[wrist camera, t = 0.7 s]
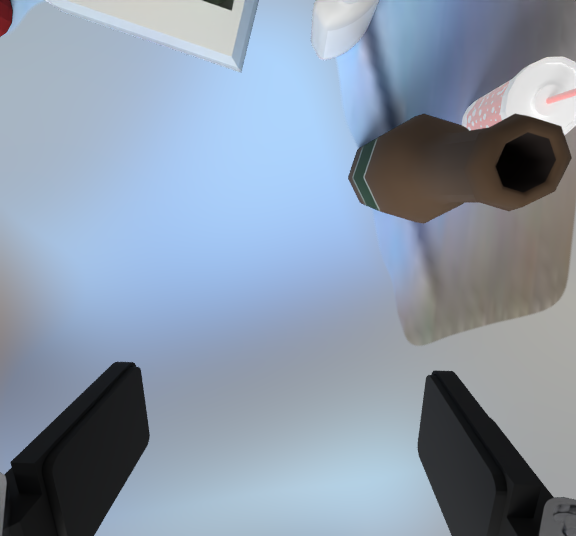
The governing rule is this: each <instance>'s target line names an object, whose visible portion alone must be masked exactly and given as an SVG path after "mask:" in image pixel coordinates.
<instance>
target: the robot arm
mask: <svg viewBox="0 0 576 536" xmlns="http://www.w3.org/2000/svg"><path fill="white" fill-rule="evenodd" d="M149 436H150V435H149V427H148V419H147V412H146V405H145V397H144V390H143V383H142V376H141V370H140V368H139V367H136V365H135V363H133V362H115V363H113V364H112V365H111V366H110V367H109V368H108V369H107V370H106V371H105V372H104V373H103V374H102V375H101V376H100V377H99V378H98V379H97V380H96V381H94V383H92V384H91V385H90V386H89V387H88V388H87V389H86V390H85V391H84V392H83V393H82V394H81V395H80V396H79V397H78V398H77V399H76V400H75V401H74V402H73V403H72V404H71V405H70V406H68V408H66V409H65V411H63V412H62V413H61V414H60V415H59V416H58V417H57V418H56V419H55V420H54V421H53V422H52V423H51V424H50V425H49V426H48V427H47V428H46V429H45V430H44V431H42V432H41V433H40V434H39V435H38V436H37V437H36V438H35V439H34V440H33V441H32V442H31V443H30V444H29V445H28V446H27V447H26V448H25V449H24V450H23V451H22V452H21V453H20V454H19V455H18V456H16V457H15V458H14V459H13V460H12V461H11V466H12V468H11V469H10V470H9V471H8V472H7V473H6V474H5V475H3V474H2V473H0V536H94V535H95V533H96V531H97V530H98V528H99V526H100V525H101V523H102V521H103V519H104V517H105V516H106V514H107V513H108V511H109V509H110V508H111V506H112V504H113V503H114V501H115V499H116V497H117V496H118V494H119V492H120V490H121V489H122V487H123V486H124V484H125V482H126V481H127V479H128V477H129V475H130V474H131V472H132V470H133V469H134V467H135V465H136V464H137V462H138V460H139V459H140V457H141V455H142V454H143V452H144V450H145V448H146V447H147V445H148V442H149ZM418 453H419V457H420V460H421V462H422V464H423V467H424V469H425V472H426V474H427V477H428V479H429V481H430V484H431V486H432V489H433V491H434V494H435V496H436V499H437V501H438V503H439V506H440V508H441V511H442V513H443V516H444V518H445V520H446V523H447V525H448V528H449V530H450V533H451V535H452V536H576V500H574V499H569V498H565V497H557V498H554V497H553V496H552V495H551V493H550V492H549V491H548V490H547V488H546V487H545V486H544V485H543V483H542V482H541V481H540V480H539V478H538V477H537V476H536V474H535V473H534V472H533V471H532V469H531V468H530V467H529V465H528V464H527V463H526V461H525V460H524V459H523V458H522V456H521V455H520V454H519V452H518V451H517V450H516V449H515V447H514V446H513V445H512V444H511V442H510V441H509V440H508V438H507V437H506V436H505V435H504V433H503V432H502V431H501V429H500V428H499V427H498V426H497V424H496V423H495V422H494V421H493V420H492V419H491V418H489V416H488V415H487V414H486V413H485V411H484V410H483V409H482V407H480V405H479V404H478V402H477V401H476V400H475V398H474V397H473V396H472V394H471V393H470V392H469V391H468V389H467V388H466V387H465V385H464V384H463V383H462V382H461V380H460V379H459V378H458V376H457V375H456V374H455V373H454V372H453V371H433V372H432V375H428V376H427V377H426V383H425V391H424V398H423V406H422V414H421V422H420V431H419V438H418Z"/></svg>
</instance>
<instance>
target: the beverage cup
mask: <svg viewBox="0 0 576 536" xmlns="http://www.w3.org/2000/svg"><path fill="white" fill-rule="evenodd" d="M513 114H520V115H526V116H530V117H533V118H537V119H540V120H543V121H546V122H549V123H553V124H556V125H559V126H561V127H562V130H563V133H564V135H565V134H566V133H568V132H569V131H570V130H571V129H572V128H573V127H574V126H576V62H574V61H572V60H570V59H568V58H565V57H546V58H544V59H541V60H539V61H537V62H535V63H532V64H530V65H528V66H527V67H525V68H523V69H522V70H521V71H520V72H519V73H518V74H517V75H516V76H515V77H514V78H513V79H511V80H509V81H508V82H506V83H504V84H503V85H501V86H499V87H498V88H496V89H494V90H493V91H491V92H489V93H488V94H486V95H484V96H483V97H481V98H479V99H478V100H476V101H474V102H473V103H472V104H471V105H470V106H469V107H468V108H467V110H466V112H465V114H464V116H463V120H462V126H464V127H466V128H467V129H469V131H470V130H476V129H482V128H488V127H491V126H493V125H495V124H496V123H498V122H500V121H502V120H504V119H506V118H508V117H509V116H511V115H513Z"/></svg>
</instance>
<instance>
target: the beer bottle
mask: <svg viewBox="0 0 576 536" xmlns="http://www.w3.org/2000/svg"><path fill="white" fill-rule="evenodd" d="M571 158H572V157H571V154H570V151H569V148H568V145H567V142H566V139H565V136H564V133H563V130H562V127H561V126H559V125H556V124H553V123H549V122H546V121H543V120H540V119H537V118H533V117H530V116H526V115H520V114H513V115H511V116H509V117H508V118H506V119H504V120H502V121H500V122H498V123H496V124H495V125H493V126H491V127H488V128H482V129H476V130H470V131H469V129H467V128H466V127H464V126H462V125H459V124H455V123H452V122H449V121H446V120H442V119H439V118H436V117H433V116H430V115H426V114H421V115H418V116H415V117H413V118H412V119H410V120H408V121H406V122H405V123H403V124H401V125H399V126H397V127H396V128H394V129H392V130H390V131H389V132H387V133H385V134H383V135H382V136H380V137H378V138H376V139H375V140H373V141H371V142H369V143H368V144H366V145H364V146H362V147H361V148H359V149H358V150H357V152H356V155H355V158H354V161H353V164H352V167H351V170H350V174H349V176H348V179H349V181H350V183H351V185H352V187H353V189H354V191H355V193H356V195H357V197H358V199H359V201H360V202H361V203H362V204H364V205H366V206H369V207H371V208H373V209H376V210H378V211H381V212H384V213H387V214H391V215H394V216H397V217H401V218H404V219H407V220H411V221H414V222H419V223H426V222H428V221H430V220H432V219H434V218H436V217H438V216H440V215H442V214H444V213H446V212H448V211H450V210H452V209H454V208H456V207H458V206H460V205H462V204H463V203H464V202H480V203H483V204H487V205H490V206H493V207H497V208H500V209H503V210H507V211H511V210H514V209H517V208H521V207H523V206H525V205H527V204H530V203H532V202H534V201H536V200H538V199H540V198H542V197H544V196H546V195H548V194H550V193H552V192H554V191H555V190H556V188H557V186H558V184H559V182H560V180H561V178H562V176H563V174H564V172H565V170H566V168H567V166H568V164H569V162H570V160H571Z"/></svg>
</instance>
